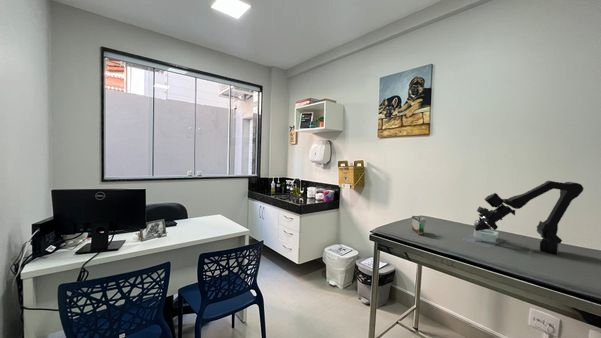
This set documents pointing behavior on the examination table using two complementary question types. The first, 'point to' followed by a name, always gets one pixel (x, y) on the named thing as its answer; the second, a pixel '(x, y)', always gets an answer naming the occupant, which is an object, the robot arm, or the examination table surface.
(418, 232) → the food container
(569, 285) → the examination table surface
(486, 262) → the examination table surface
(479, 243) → the instrument mat
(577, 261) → the examination table surface
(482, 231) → the holder
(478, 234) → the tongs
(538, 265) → the examination table surface
